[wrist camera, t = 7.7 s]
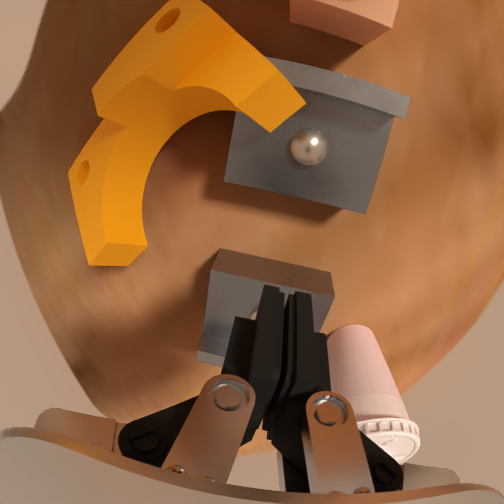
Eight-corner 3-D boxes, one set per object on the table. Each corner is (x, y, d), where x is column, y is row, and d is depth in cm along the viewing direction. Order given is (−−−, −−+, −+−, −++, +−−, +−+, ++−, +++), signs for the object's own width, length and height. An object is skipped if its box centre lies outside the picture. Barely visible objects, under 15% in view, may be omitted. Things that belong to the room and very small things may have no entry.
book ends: (252, 63, 14) (241, 52, 10) (383, 96, 14) (410, 97, 10) (209, 320, 22) (196, 360, 18) (304, 340, 22) (304, 382, 18)
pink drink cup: (318, 377, 24) (318, 540, 12) (297, 322, 21) (289, 526, 9) (394, 358, 22) (426, 520, 10) (386, 298, 19) (442, 498, 7)
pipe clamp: (183, -12, 9) (252, 41, 7) (235, 34, 13) (306, 103, 11) (43, 167, 14) (58, 264, 12) (101, 179, 18) (128, 266, 16)
